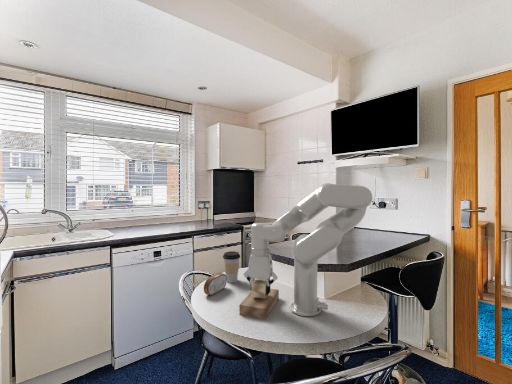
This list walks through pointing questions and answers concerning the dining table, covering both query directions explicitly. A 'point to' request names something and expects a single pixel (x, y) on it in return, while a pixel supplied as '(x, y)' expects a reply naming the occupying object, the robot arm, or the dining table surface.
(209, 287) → the tin
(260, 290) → the birch cube
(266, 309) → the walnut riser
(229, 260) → the coffee cup
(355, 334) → the dining table surface
